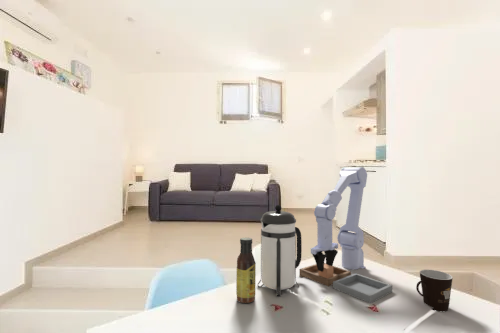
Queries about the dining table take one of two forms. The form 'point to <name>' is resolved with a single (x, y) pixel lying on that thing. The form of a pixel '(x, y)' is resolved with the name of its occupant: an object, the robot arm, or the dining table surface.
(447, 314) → the dining table surface
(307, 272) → the walnut crate
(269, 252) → the coffee press
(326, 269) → the terracotta block
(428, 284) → the coffee mug
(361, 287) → the grey bin
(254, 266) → the sauce bottle
